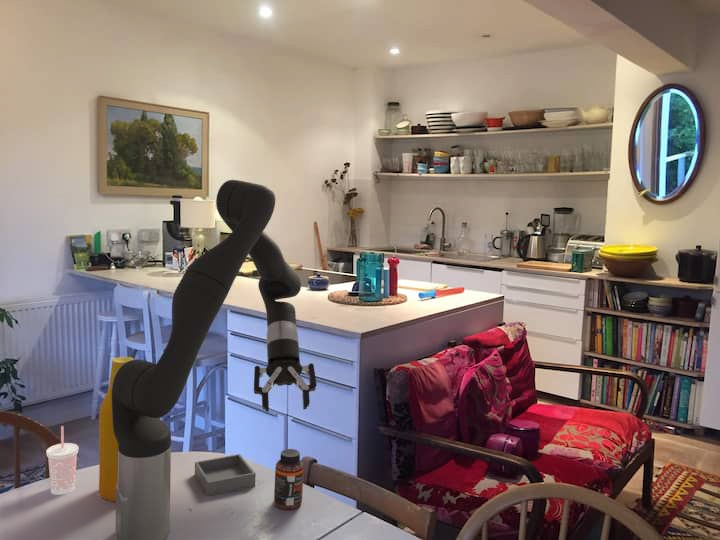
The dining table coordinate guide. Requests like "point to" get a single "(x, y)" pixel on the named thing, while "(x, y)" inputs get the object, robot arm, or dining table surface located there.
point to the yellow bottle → (109, 440)
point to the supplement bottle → (289, 480)
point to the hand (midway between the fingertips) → (286, 409)
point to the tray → (224, 474)
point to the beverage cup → (62, 466)
